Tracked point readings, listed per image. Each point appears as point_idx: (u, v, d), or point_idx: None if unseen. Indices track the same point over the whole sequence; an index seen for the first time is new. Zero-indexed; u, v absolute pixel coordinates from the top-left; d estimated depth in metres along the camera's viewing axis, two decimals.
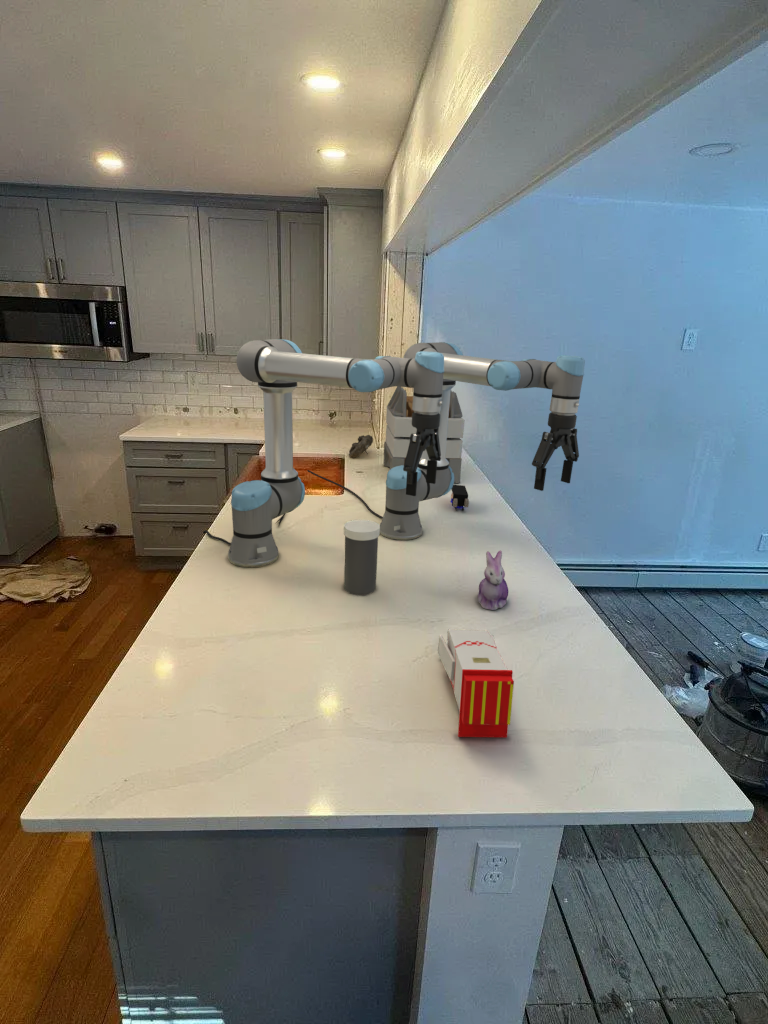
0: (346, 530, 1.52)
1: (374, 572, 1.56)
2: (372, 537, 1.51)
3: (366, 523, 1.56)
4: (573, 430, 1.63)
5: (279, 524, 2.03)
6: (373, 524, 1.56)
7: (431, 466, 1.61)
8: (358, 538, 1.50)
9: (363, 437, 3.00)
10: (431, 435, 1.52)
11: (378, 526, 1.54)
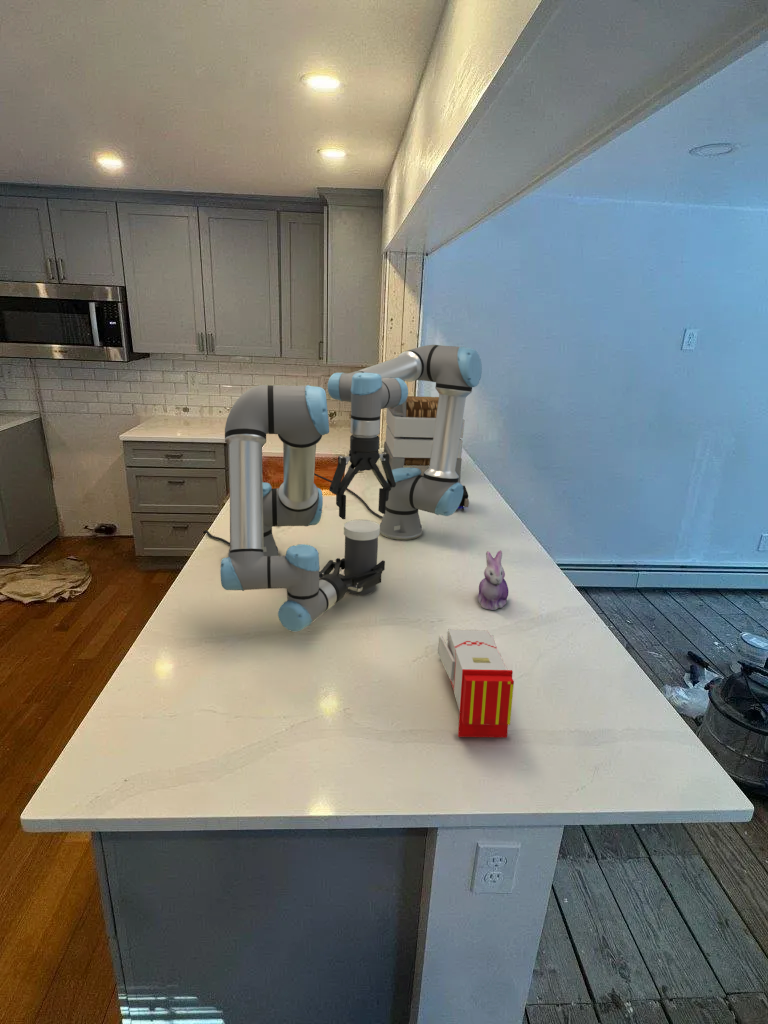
0: (346, 530, 1.52)
1: None
2: (372, 537, 1.51)
3: (366, 523, 1.56)
4: None
5: None
6: (373, 524, 1.56)
7: None
8: (358, 538, 1.50)
9: None
10: None
11: (378, 526, 1.54)
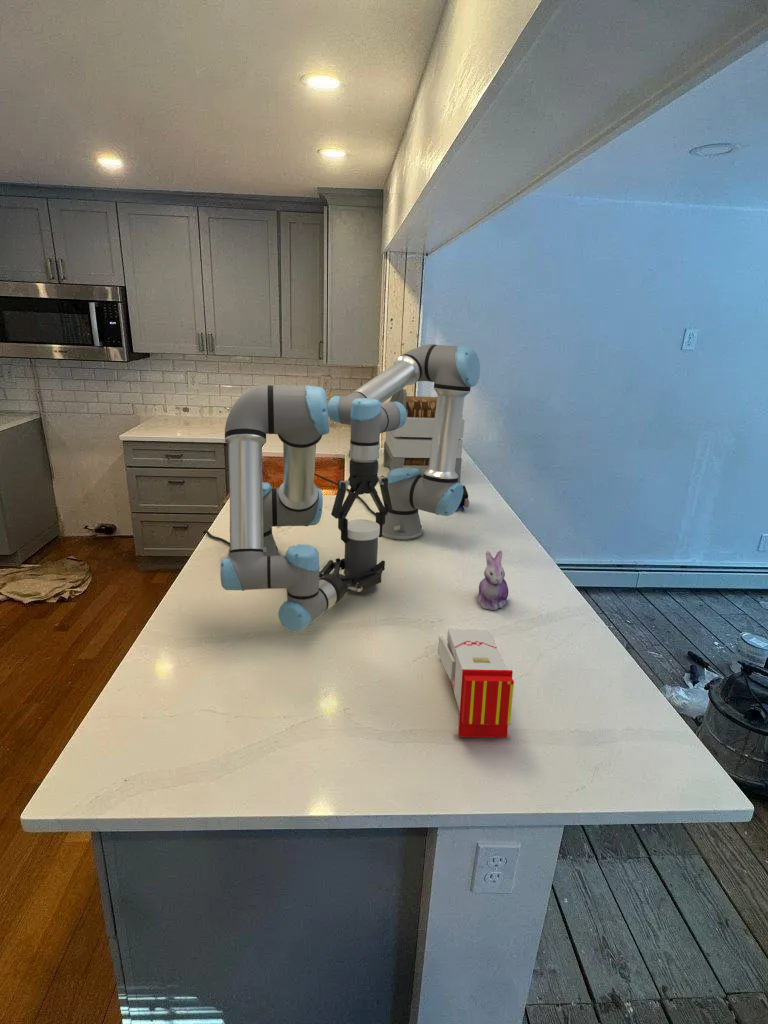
0: None
1: None
2: (372, 537, 1.51)
3: (366, 523, 1.56)
4: None
5: None
6: (373, 524, 1.56)
7: None
8: (358, 538, 1.50)
9: None
10: None
11: (378, 526, 1.54)
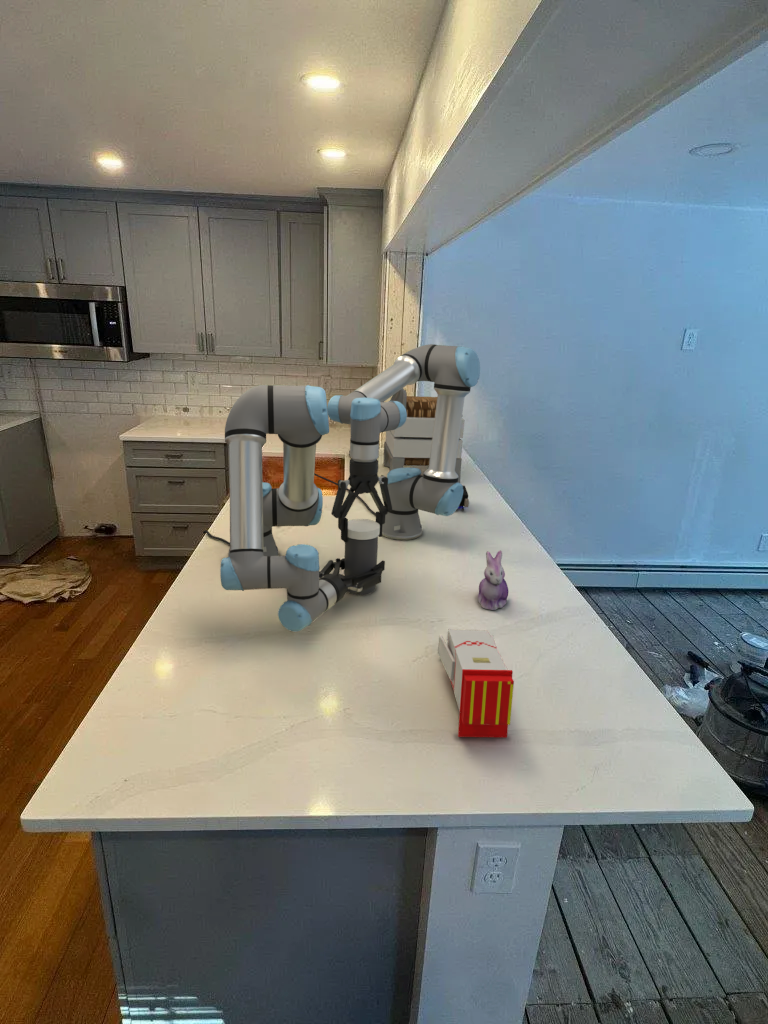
0: (376, 530, 1.52)
1: None
2: None
3: (354, 524, 1.54)
4: None
5: None
6: (352, 521, 1.56)
7: None
8: None
9: None
10: None
11: (356, 519, 1.58)
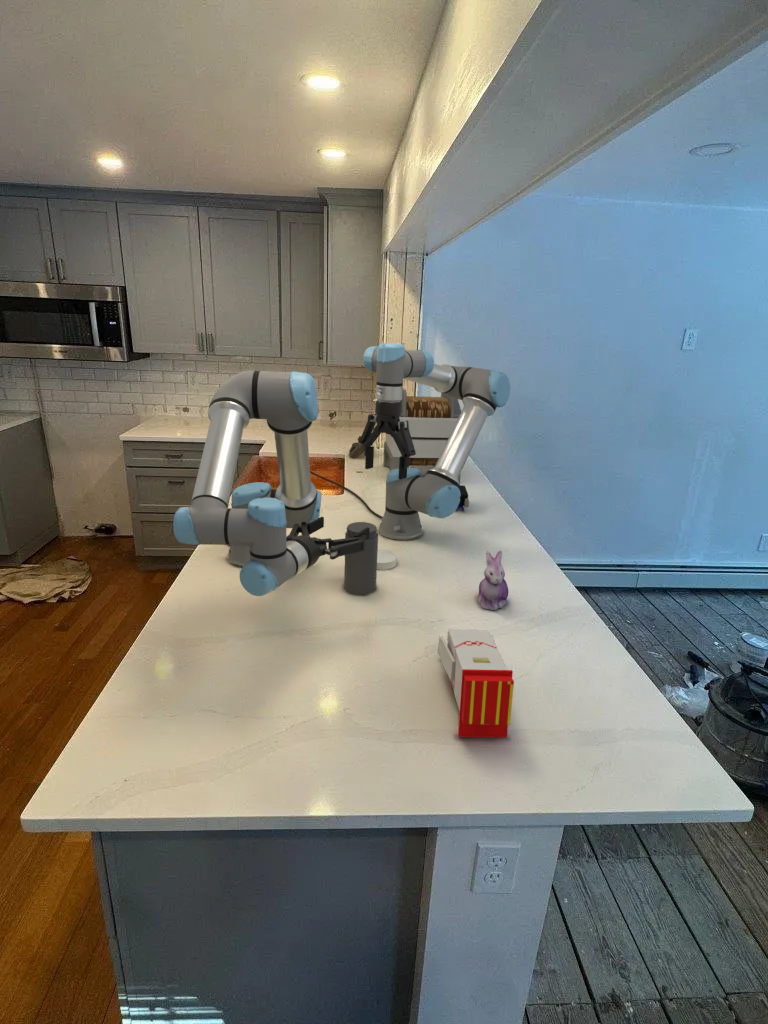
0: (390, 563, 1.72)
1: (374, 572, 1.56)
2: None
3: None
4: None
5: None
6: None
7: None
8: (396, 562, 1.76)
9: None
10: None
11: (381, 550, 1.80)
